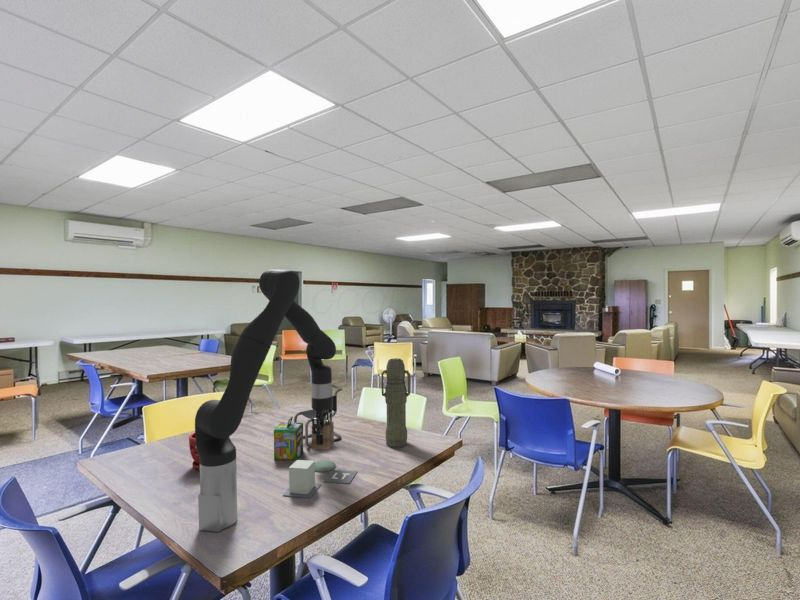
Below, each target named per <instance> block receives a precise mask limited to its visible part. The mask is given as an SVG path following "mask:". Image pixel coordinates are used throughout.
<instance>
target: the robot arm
mask: <svg viewBox="0 0 800 600" xmlns="http://www.w3.org/2000/svg"><path fill="white" fill-rule="evenodd" d="M258 285H259V289H260V292H261V294H263V295H264V297H265V298H266V299H268V303H267V305H266V306H265V307H264V309H263V310H262V311H261V312H260V313H259V314H258V315H257V316H256V317H255V318H254V319H253V320H252V321H250V323H248V324H247V325H246V326H245V327H244V328H243V330H242V331H241V332H240V334H239V337H238V338H237V341H236V343H235V344H234V348H233V350H232V353H231V357H230V370H229V379H228V383H227V385H226V388H225V390H224V392H223V394H222V396H221V398H220V400H218V399H210V400H207V401H204V402H203V403H202V404H201V405H200V406H199V407H198V408H197V411H196V414H195V418H194V433H195V437H196V449H197V453H198V455H199V459H200V470H199V489H200V490H199V494H198V495H197V498H198V499H197V501H198V502H197V505H198V506H197V507H198V531H207V532H217V533H220V532H221V531H223V530H225V529H227V528H229V527H230V528H231V526H233V525H235V523H236V522H238V521H237V520H238V517H239V516H238V483H237V481H238V480H237V478H238V476H237V475H238V474H237V473H238V472H237V448H236V446H235V445H234V443H233V442H232V440H231V436H232V435H233V434H234V433H235V432H236V431H237V430H238V428H239V426H240V424H241V423H242V419H243V416H244V413H245V410H246V408H247V405H248V401H249V398H250V395H251V393H252V390H253V387H254V385H255V383H256V380H257V378H258V376H259V373H260V371H261V369H262V367H263V365H264V363H265V361H266V358H267V356H268V354H269V352H270V349H271V347H272V344H273V341H274V339H275V337H276V335H277V333H278V331H279V329H280V327H281V325H282V322H283V320H284V318H286V319H287V321H288V322H289V323H290V324H291V326H292V327H293V328H294V329H295V331H296V332H297V334H298V335H299V337H300V338H301V339H302V342H304V343H306V349H305V350H306V351H305V352H306V357H307V360H308V364H309V367H310V371H311V389H310V393H311V394H310V395H311V396H310V397H311V410H315V411H316V415H315V418H312V422H311V429H312V428H313V434H316V444H317V445H322V444H323V428H324V426H325V422H330V421H332V422H333V417H332V414H333V410H332V407H333V396H334V392H333V387H332V384H333V383H332V381H333V379H332V378H333V377H332V368H331V366H329V365H328V364H324V362H323V360H324V361H325V360H327V361H328V360H331V359H333V358H334V357H335V356H336V353H337V347H336V343H335V342H334V341H333V339H332V338H331V337H330V336H329V335H328V334H327V333H326V332H324V331H323V330H321V329H320V326H319V325H318V324H317V322H316V320H315V319H314V317H313V316H312V315H311V314H310V313H309V312H308V311H307V310H306V309H304V307H302V306H301V305H299V304H298V302H297V301H295V299H296V297H297V295H298V294H299V290H300V285H301V281H300V277H299V275H298V273H296V272H295V271H293V270H289V269H275V268H274V269H268V270H265V271H264V272H262V273H261V274H260V277H259V281H258ZM320 424H322V425H320ZM320 427H321V429H320ZM315 428H316V429H315Z"/></svg>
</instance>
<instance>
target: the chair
mask: <svg viewBox="0 0 800 600" xmlns="http://www.w3.org/2000/svg"><path fill="white" fill-rule="evenodd" d="M332 388H334V389H336V390H335V391H334V392H333V407H332V418H333V417H334V416H335V415H336V414H337V411H338V405H337V404H338V398H337V397H338V396H337V395H338V393H339V392H341V391H343V388H342V387H341V386H338V385H335V384H334V383H332ZM315 415H316V411H315V410H313V409H308V410H304V411H299V412H297V413H296V414H295V415H294V416H293V417H294V419H293V423H298V420H297V419H298V417H299V416H304V417H305V418H307V419H308V420H307V421H306V422H305V426H304V427H305V428H304V429H305V430H304V432H305V433H304V434H305V435H304V434H303V439H305V445H306V446H307V447H309V448H312V443H310V442H309V438H310V437H311V438H312V433H310V434H309V424H310V423H312V418H315ZM334 437H335V438H334V442H337V441H340V440H341V439H342V436H341V435H340V434H338V433H337V432H335V431H334Z"/></svg>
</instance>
